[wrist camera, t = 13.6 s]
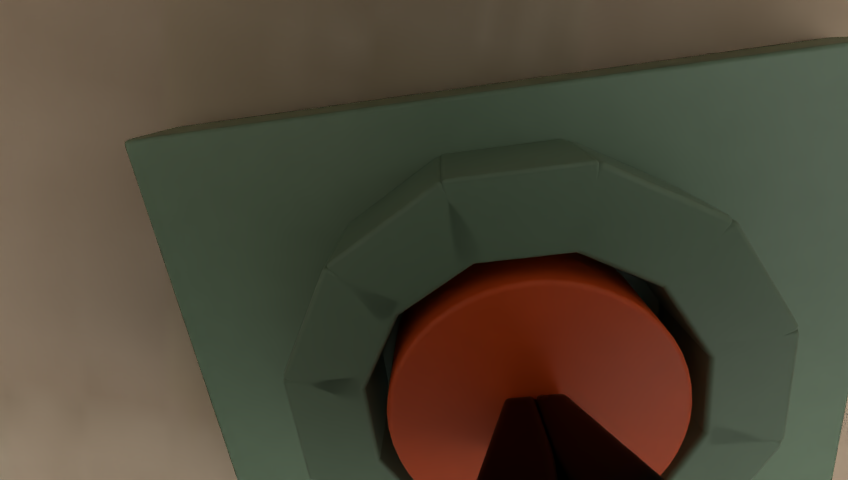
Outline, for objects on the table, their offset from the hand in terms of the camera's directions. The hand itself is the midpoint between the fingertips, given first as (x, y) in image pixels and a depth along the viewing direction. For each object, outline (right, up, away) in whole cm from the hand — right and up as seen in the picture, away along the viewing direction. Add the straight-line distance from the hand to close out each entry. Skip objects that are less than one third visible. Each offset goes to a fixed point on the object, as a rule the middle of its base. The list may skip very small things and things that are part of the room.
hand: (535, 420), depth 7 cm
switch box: (0, +1, +3) cm, 4 cm away
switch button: (0, +1, +2) cm, 2 cm away
